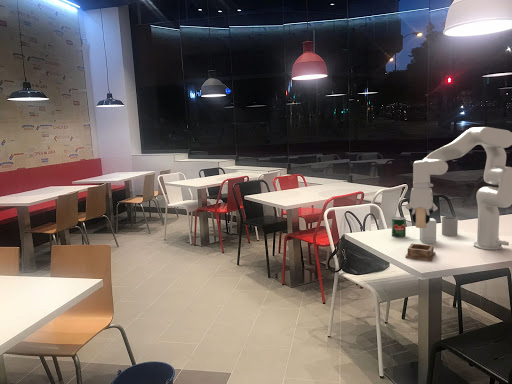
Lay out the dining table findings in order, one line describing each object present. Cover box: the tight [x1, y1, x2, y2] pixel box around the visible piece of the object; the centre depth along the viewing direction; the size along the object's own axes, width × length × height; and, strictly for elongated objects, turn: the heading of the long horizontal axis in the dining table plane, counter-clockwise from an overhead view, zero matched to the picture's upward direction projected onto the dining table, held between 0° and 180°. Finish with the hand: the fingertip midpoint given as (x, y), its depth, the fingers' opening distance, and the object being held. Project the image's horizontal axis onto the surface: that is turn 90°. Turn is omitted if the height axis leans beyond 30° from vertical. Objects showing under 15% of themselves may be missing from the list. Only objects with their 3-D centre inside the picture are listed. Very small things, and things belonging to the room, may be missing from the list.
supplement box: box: [419, 217, 437, 244], centre depth 220 cm, size 7×7×13 cm
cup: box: [441, 216, 459, 237], centre depth 233 cm, size 8×8×10 cm
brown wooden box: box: [405, 243, 436, 262], centre depth 196 cm, size 12×12×4 cm
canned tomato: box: [391, 216, 407, 239], centre depth 234 cm, size 8×8×11 cm
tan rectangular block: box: [415, 208, 427, 229], centre depth 194 cm, size 5×5×10 cm
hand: (421, 222), depth 194 cm, fingers closed on tan rectangular block, 5 cm apart
